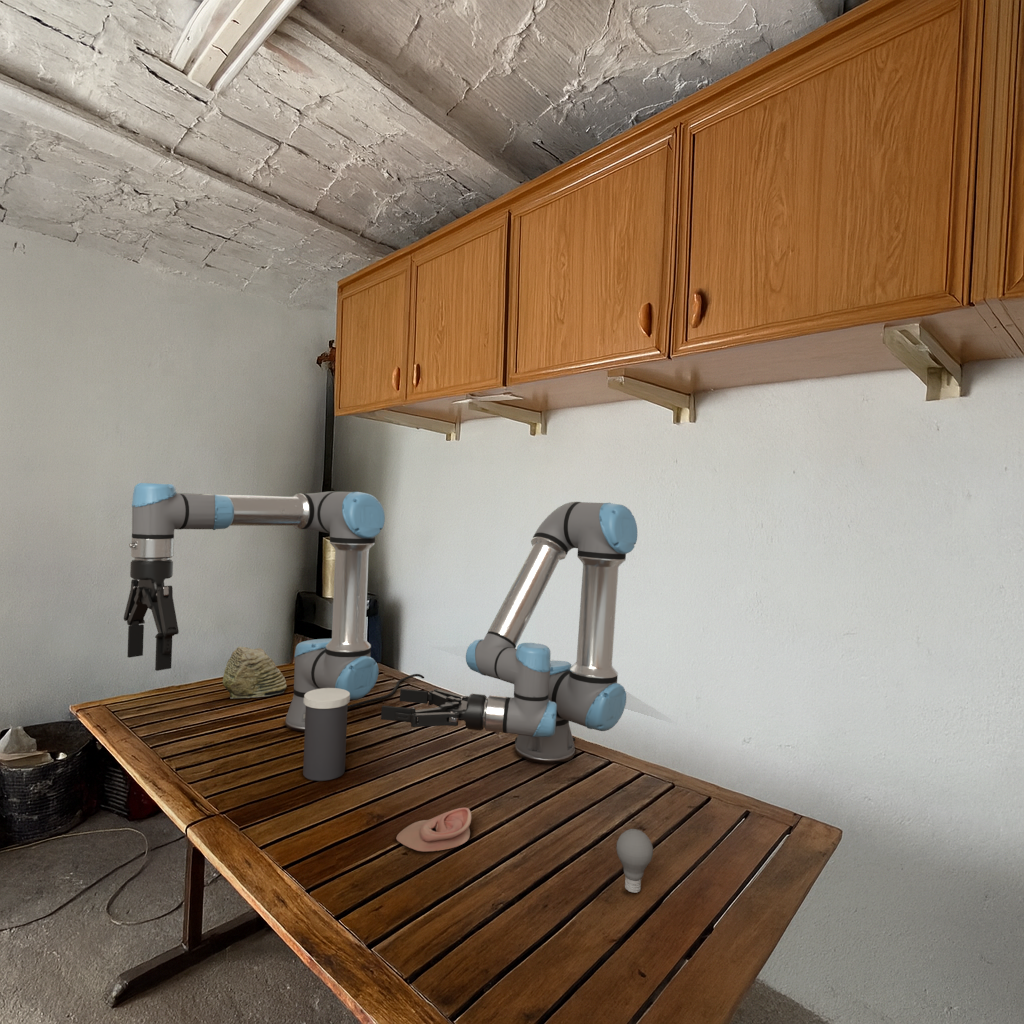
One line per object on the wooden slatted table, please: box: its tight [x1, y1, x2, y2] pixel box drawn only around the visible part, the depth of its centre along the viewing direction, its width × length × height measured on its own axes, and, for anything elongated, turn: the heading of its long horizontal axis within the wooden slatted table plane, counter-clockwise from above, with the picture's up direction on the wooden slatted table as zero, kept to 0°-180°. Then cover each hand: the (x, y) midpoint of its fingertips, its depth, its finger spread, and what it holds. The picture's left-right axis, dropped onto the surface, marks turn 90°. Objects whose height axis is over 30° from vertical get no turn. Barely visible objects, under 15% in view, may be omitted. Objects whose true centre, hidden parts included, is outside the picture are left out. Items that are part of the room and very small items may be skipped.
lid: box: [304, 688, 351, 709], centre depth 145 cm, size 10×10×2 cm
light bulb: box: [615, 828, 654, 894], centre depth 106 cm, size 6×6×10 cm
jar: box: [302, 703, 349, 782], centre depth 146 cm, size 9×9×18 cm
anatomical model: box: [395, 807, 472, 853], centre depth 120 cm, size 13×4×12 cm
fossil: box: [222, 646, 288, 699], centre depth 198 cm, size 9×18×15 cm, turn 132°
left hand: (148, 662), depth 129 cm, fingers open, 13 cm apart
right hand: (391, 703), depth 141 cm, fingers open, 13 cm apart
